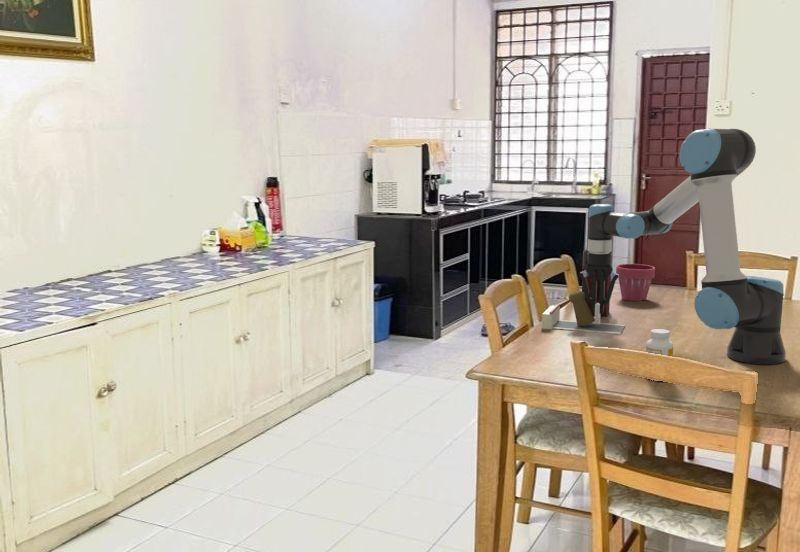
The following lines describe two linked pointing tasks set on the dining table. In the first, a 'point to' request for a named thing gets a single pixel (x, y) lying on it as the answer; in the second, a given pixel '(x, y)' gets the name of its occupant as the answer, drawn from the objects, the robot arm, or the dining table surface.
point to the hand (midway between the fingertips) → (597, 323)
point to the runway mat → (589, 327)
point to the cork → (581, 309)
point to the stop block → (550, 317)
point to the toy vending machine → (607, 284)
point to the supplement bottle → (660, 343)
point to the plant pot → (635, 280)
